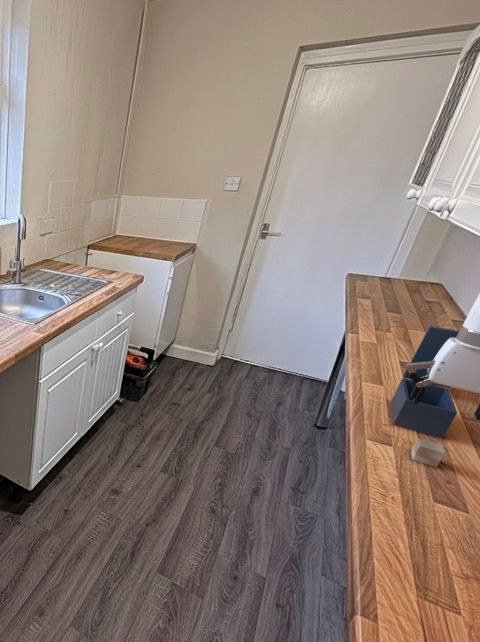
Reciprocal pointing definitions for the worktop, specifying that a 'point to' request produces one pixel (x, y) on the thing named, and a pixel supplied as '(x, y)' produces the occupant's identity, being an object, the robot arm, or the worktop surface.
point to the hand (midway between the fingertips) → (445, 409)
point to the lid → (431, 348)
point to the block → (427, 452)
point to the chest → (423, 409)
